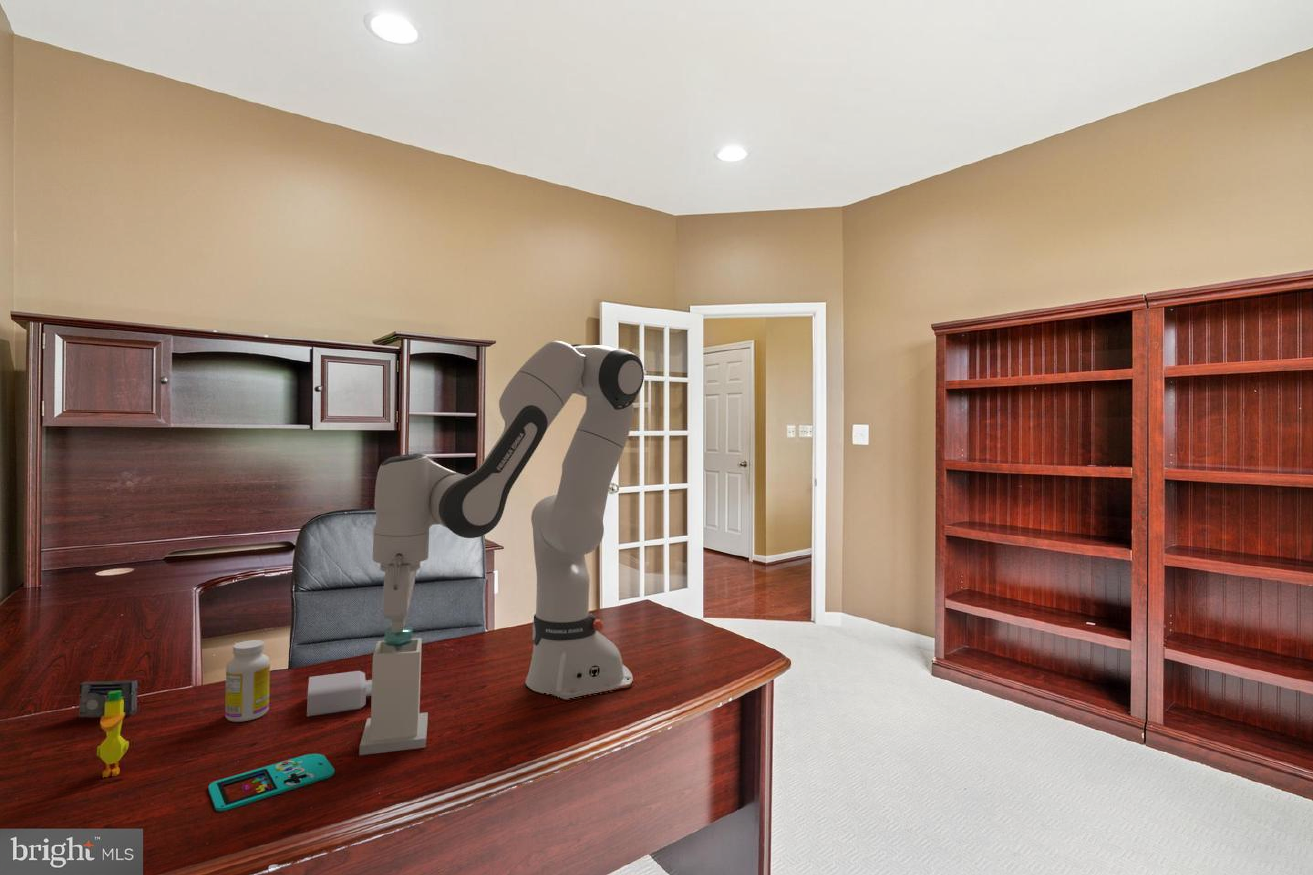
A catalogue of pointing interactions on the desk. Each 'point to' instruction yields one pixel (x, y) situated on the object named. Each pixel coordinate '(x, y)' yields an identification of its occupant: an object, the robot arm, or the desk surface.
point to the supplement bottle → (247, 682)
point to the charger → (337, 692)
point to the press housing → (395, 701)
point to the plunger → (398, 638)
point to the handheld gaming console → (274, 779)
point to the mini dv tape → (106, 697)
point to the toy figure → (112, 733)
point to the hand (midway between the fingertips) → (398, 630)
